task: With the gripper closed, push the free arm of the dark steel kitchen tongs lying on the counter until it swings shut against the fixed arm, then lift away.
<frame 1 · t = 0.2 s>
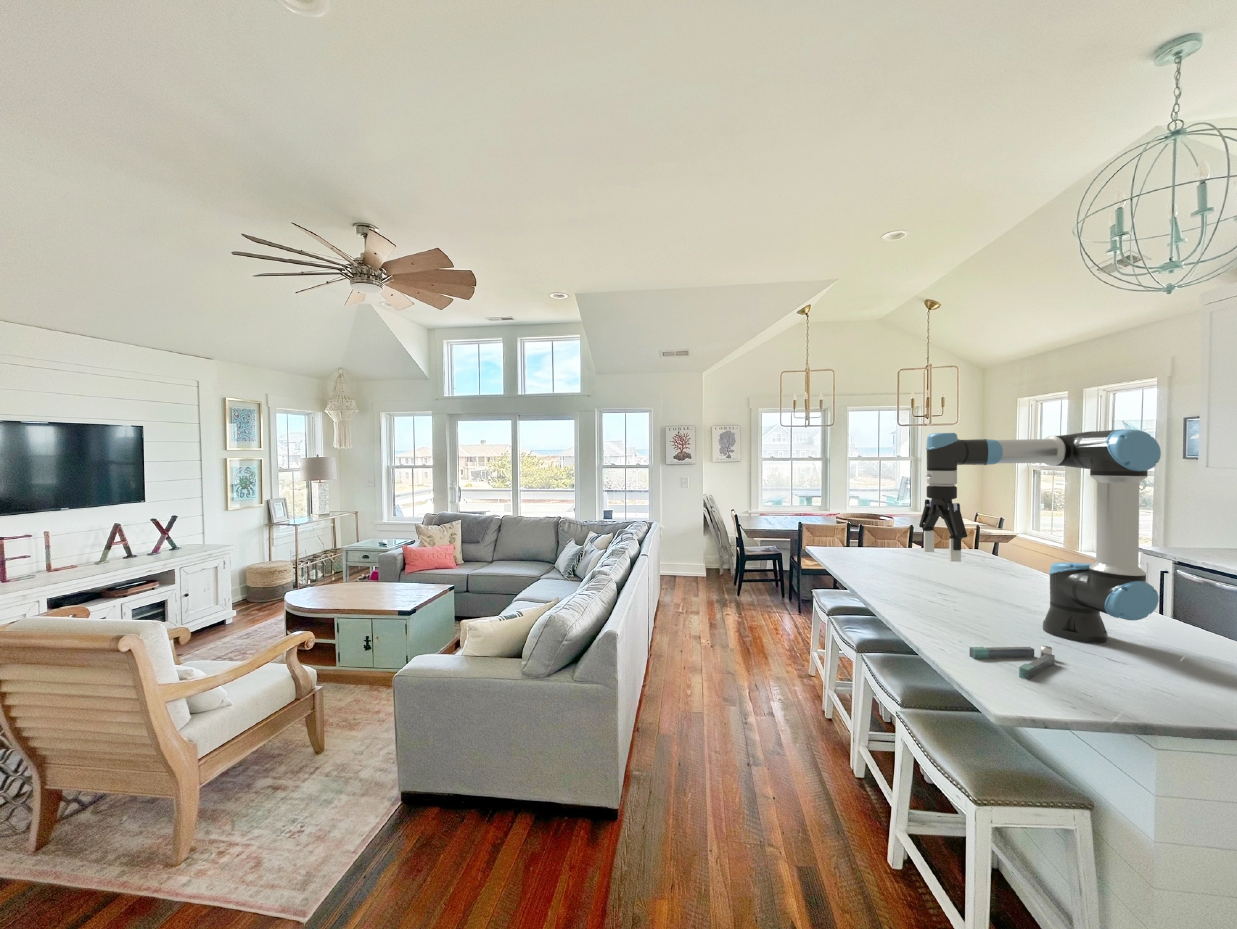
hand: (941, 556, 144), 27 cm above the table, fingers open, 13 cm apart
tongs free arm: (1037, 665, 129), point 1 cm above the table, hinge at 30.0°
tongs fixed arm: (1046, 658, 136), on the table
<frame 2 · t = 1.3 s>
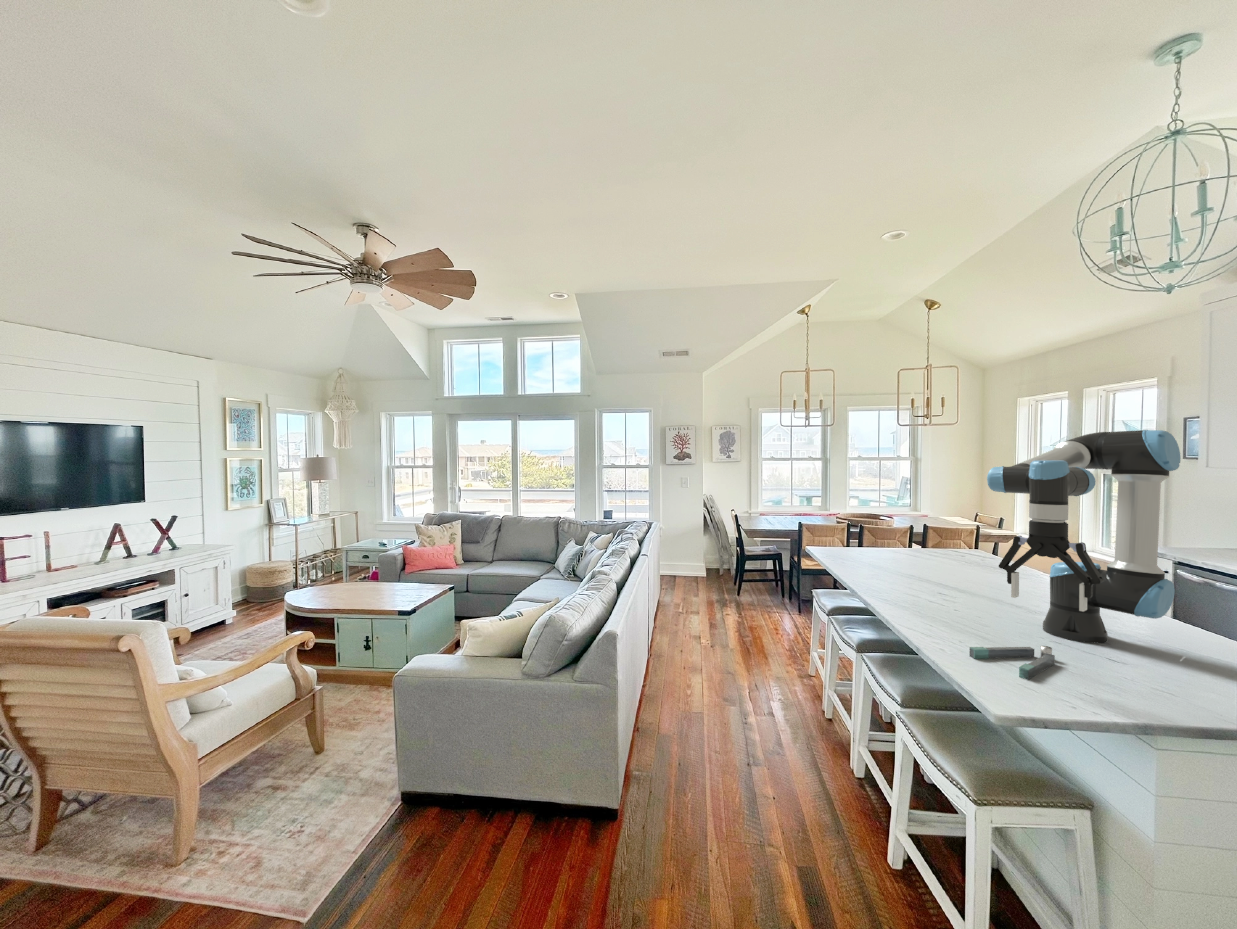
hand: (1047, 603, 124), 19 cm above the table, fingers open, 13 cm apart
nothing on the table moved.
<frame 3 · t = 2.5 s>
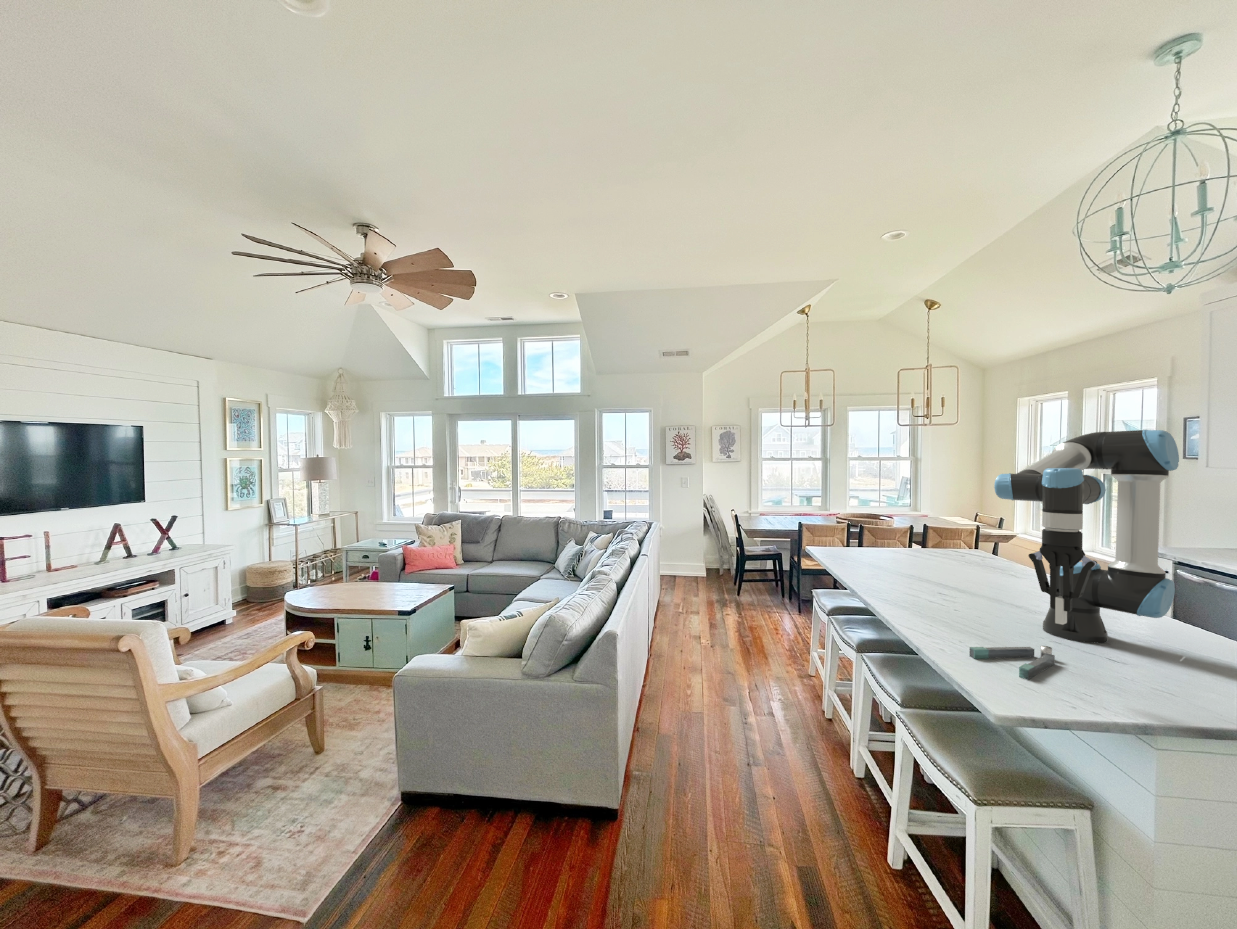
hand: (1061, 622, 122), 15 cm above the table, fingers closed
nothing on the table moved.
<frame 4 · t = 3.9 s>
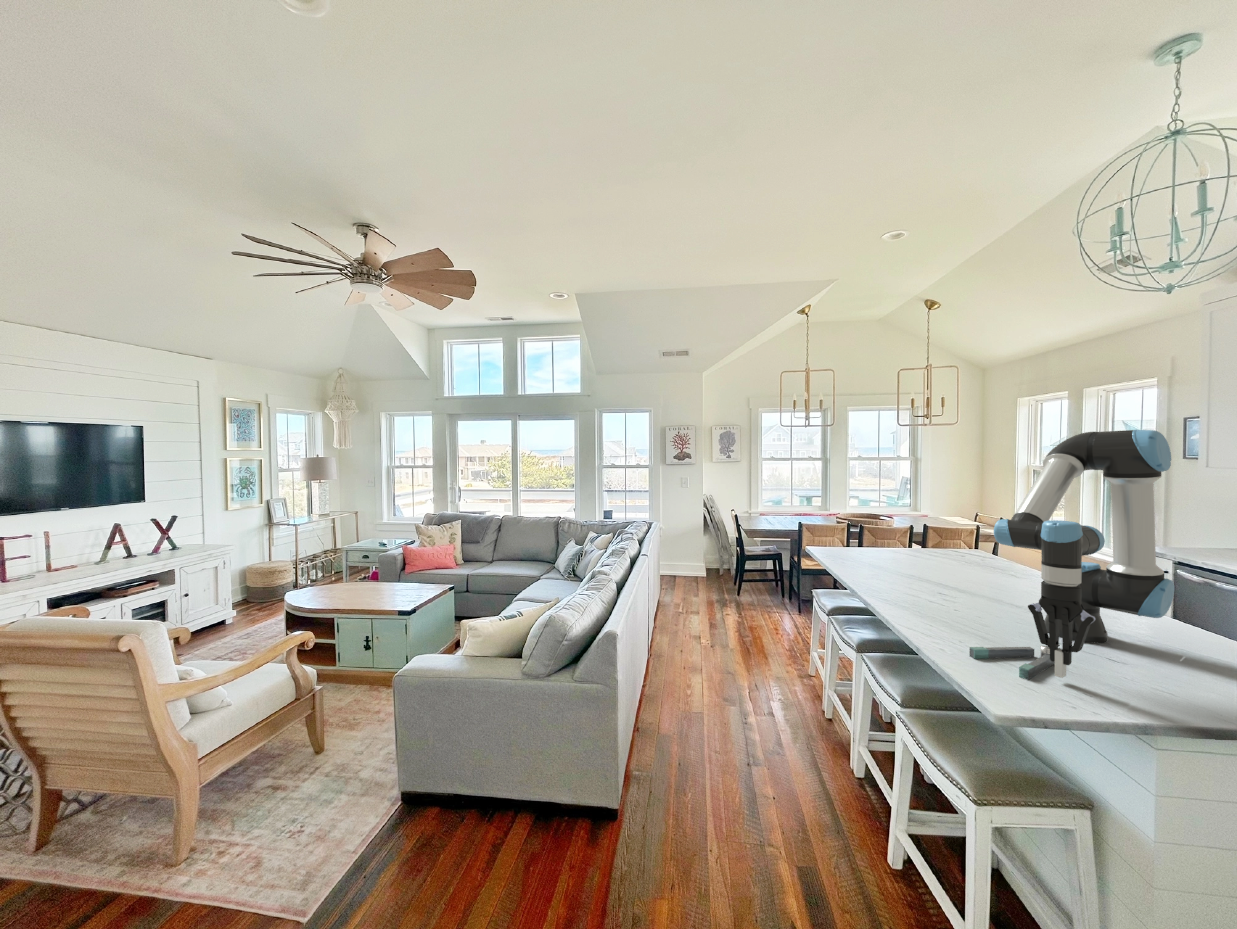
hand: (1060, 675, 122), 2 cm above the table, fingers closed
nothing on the table moved.
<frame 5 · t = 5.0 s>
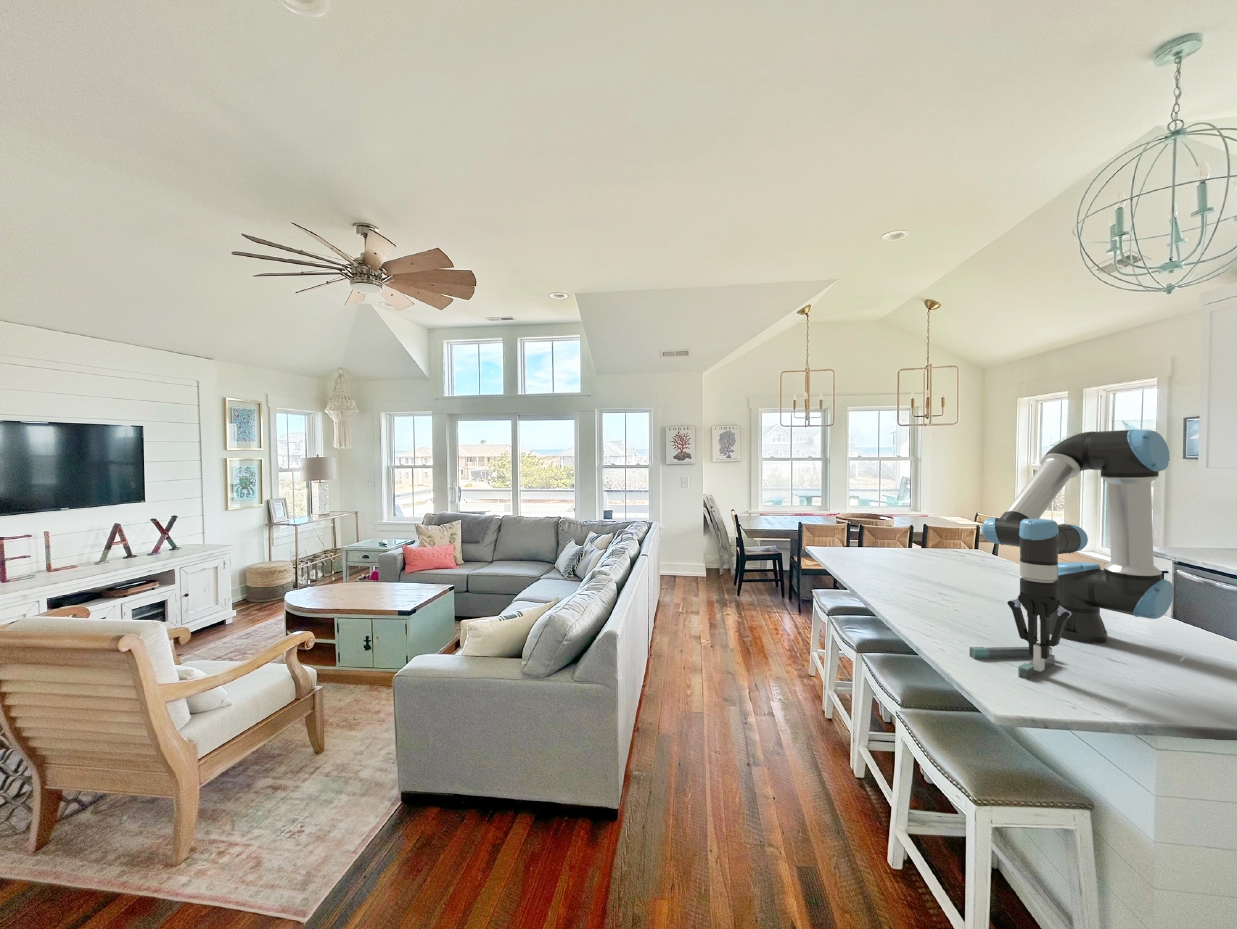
hand: (1038, 669, 126), 2 cm above the table, fingers closed
tongs free arm: (1036, 665, 129), point 1 cm above the table, hinge at 29.5°, touching gripper
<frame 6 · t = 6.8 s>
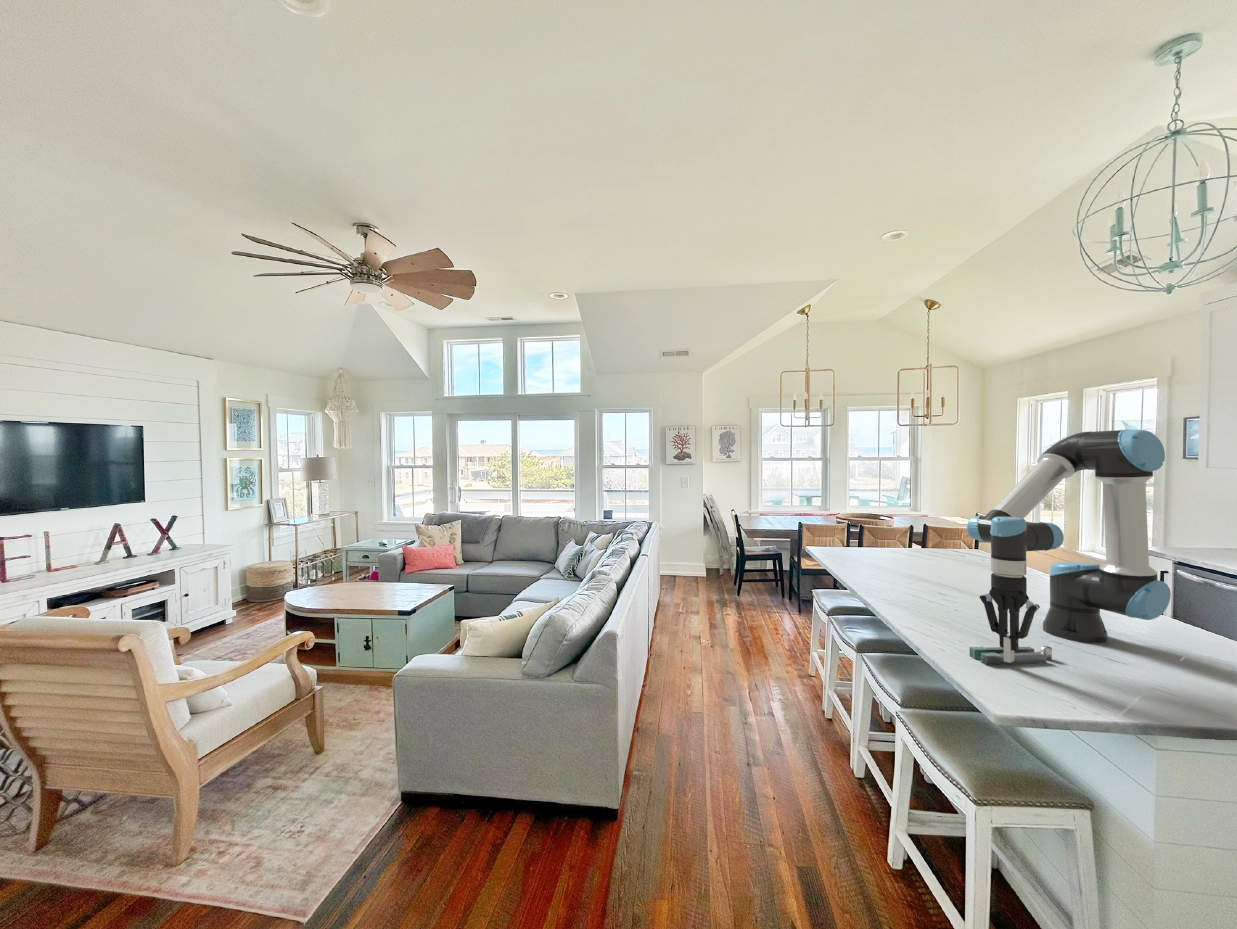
hand: (1009, 660, 132), 2 cm above the table, fingers closed
tongs free arm: (1013, 658, 134), point 1 cm above the table, hinge at 2.7°, touching gripper
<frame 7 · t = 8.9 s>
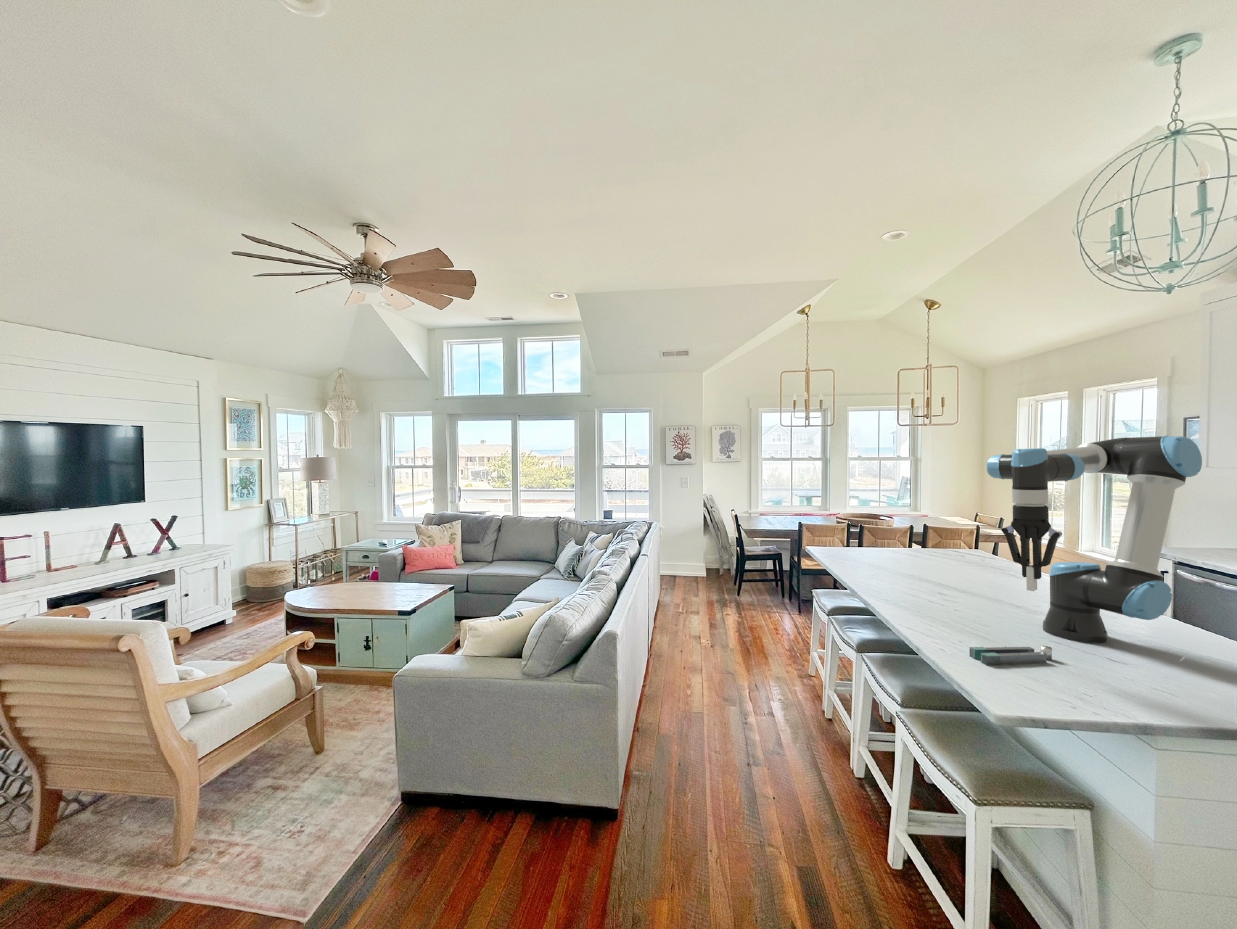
hand: (1032, 589, 134), 20 cm above the table, fingers closed
tongs free arm: (1013, 658, 134), point 1 cm above the table, hinge at 2.6°
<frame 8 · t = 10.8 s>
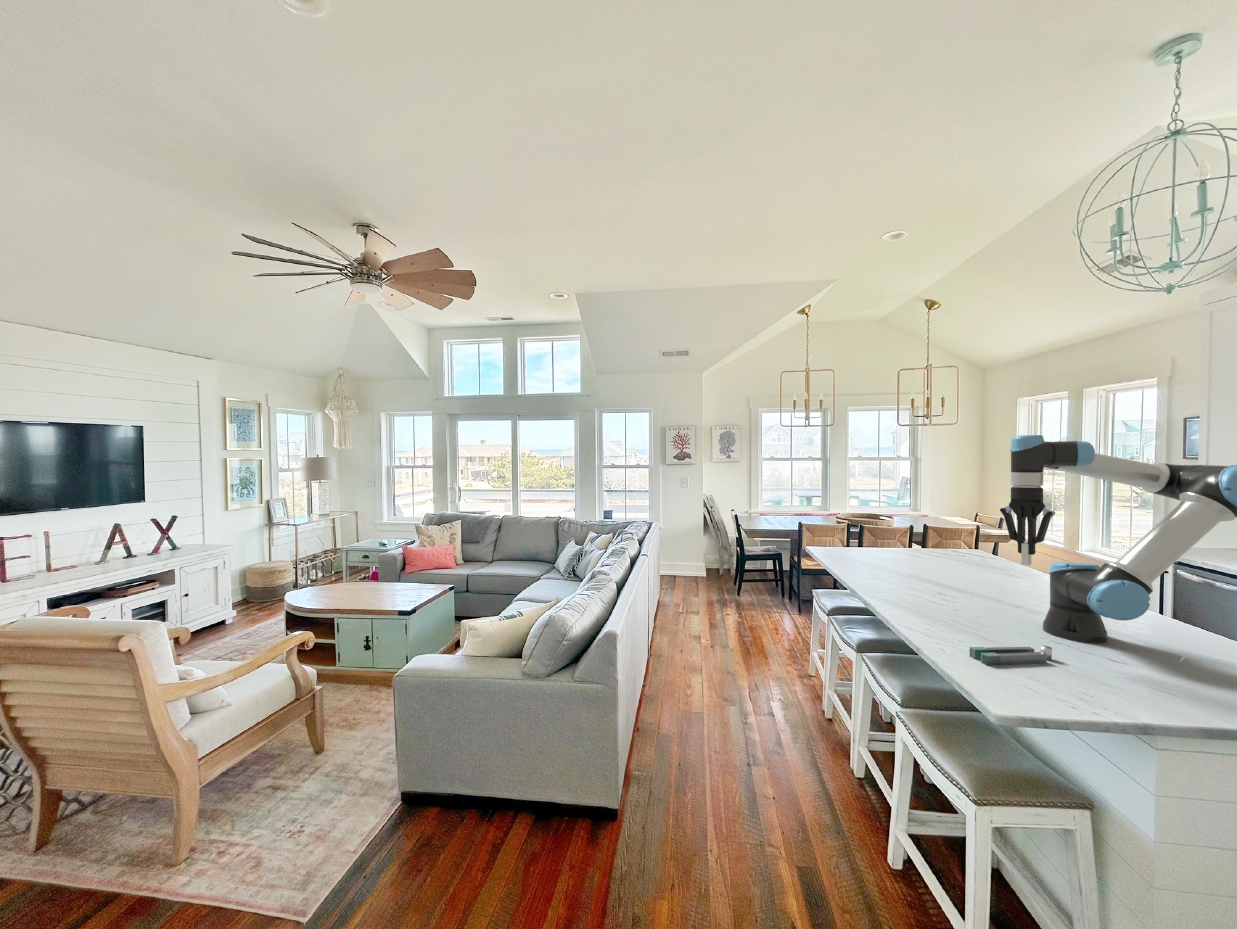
hand: (1026, 564, 146), 24 cm above the table, fingers closed
nothing on the table moved.
at the end: tongs free arm at +3° (first picture: +30°); the gripper is holding nothing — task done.
